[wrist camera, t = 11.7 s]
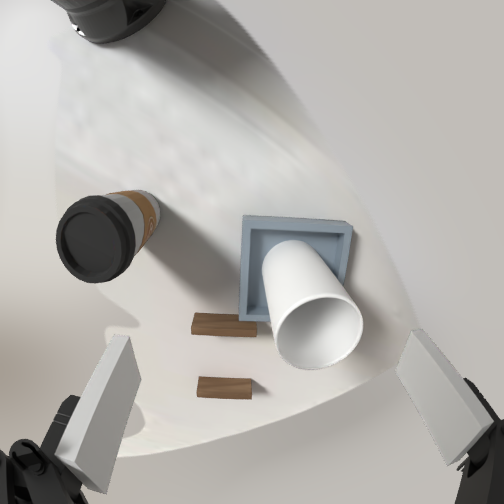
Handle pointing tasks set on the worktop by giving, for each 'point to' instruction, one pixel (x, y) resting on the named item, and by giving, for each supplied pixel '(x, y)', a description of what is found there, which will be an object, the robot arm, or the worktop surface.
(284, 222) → the tray
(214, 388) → the clip rails
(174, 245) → the worktop surface
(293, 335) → the cup
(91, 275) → the coffee cup
